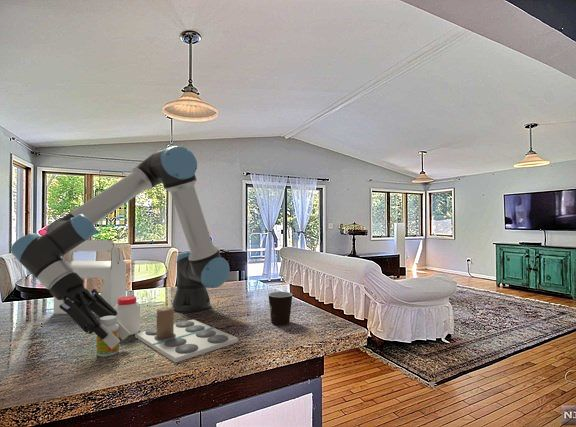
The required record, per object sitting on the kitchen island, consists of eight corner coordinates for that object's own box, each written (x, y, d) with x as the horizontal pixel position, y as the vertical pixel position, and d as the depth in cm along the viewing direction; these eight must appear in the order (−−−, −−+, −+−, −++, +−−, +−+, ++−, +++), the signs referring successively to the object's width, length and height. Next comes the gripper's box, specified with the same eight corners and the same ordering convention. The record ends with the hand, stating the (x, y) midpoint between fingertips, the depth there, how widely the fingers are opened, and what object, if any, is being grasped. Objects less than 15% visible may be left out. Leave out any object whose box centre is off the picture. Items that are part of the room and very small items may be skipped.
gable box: (126, 304, 142) (127, 239, 142) (111, 313, 129) (112, 241, 129) (73, 305, 141) (74, 239, 142) (52, 314, 128) (53, 241, 128)
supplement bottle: (94, 358, 88) (94, 321, 88) (99, 350, 93) (100, 315, 94) (116, 355, 90) (116, 319, 90) (120, 348, 95) (121, 314, 95)
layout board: (135, 337, 104) (135, 306, 104) (193, 322, 118) (193, 295, 118) (175, 362, 85) (175, 325, 86) (238, 342, 100) (238, 310, 100)
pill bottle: (113, 337, 103) (113, 302, 103) (113, 330, 110) (113, 296, 110) (140, 333, 107) (140, 299, 107) (139, 326, 114) (139, 294, 114)
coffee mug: (289, 327, 113) (290, 297, 113) (265, 325, 115) (265, 296, 115) (296, 317, 124) (296, 290, 125) (273, 315, 126) (273, 289, 126)
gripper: (73, 284, 101) (127, 338, 101) (26, 298, 82) (92, 365, 82) (91, 266, 101) (145, 320, 101) (48, 277, 83) (114, 343, 82)
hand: (121, 340), depth 92 cm, fingers closed on supplement bottle, 5 cm apart
